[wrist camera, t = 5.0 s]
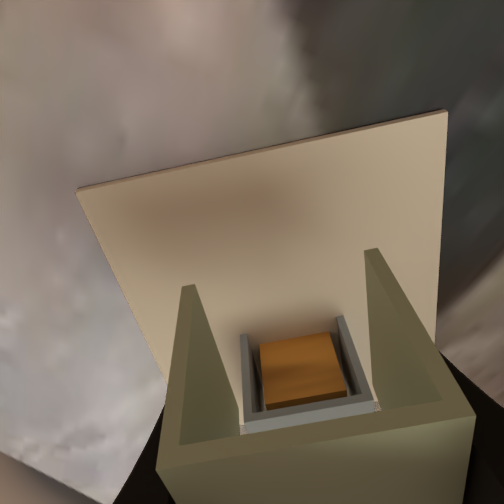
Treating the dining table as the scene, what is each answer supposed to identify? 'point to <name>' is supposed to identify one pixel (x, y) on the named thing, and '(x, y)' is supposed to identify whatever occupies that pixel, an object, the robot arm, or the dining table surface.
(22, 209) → the dining table surface
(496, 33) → the dining table surface
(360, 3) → the dining table surface
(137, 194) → the mat
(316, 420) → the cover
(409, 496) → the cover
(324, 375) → the orange block
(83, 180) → the dining table surface
